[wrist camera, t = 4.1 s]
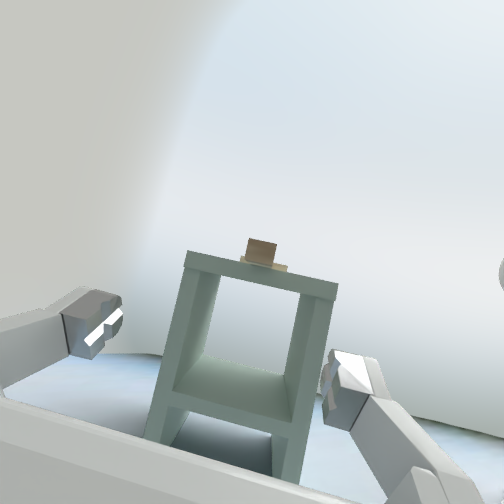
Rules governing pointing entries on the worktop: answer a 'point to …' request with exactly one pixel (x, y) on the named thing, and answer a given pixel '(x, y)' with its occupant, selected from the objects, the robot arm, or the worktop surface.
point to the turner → (262, 255)
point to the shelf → (237, 375)
